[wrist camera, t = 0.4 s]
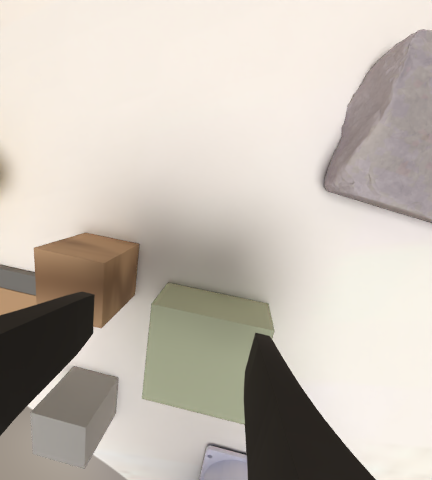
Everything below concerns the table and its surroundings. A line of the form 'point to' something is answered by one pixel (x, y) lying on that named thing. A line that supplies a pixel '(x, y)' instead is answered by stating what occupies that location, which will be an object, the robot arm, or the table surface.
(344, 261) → the table surface
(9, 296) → the card
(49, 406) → the light gray cube
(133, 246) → the walnut block
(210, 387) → the sage block
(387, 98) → the stone block
